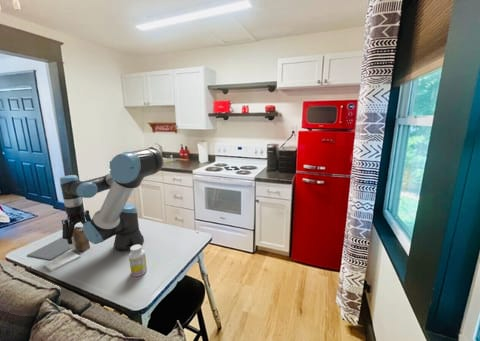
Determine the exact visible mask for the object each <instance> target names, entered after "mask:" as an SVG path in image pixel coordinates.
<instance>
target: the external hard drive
mask: <svg viewBox="0 0 480 341" xmlns="http://www.w3.org/2000/svg"><path fill="white" fill-rule="evenodd" d="M80 258H81V255H80V254H78V253H76V252H74V251H71V252H68V253H64V254H62V255H60V256H58V257H56V258H54V259H53V260H49V262H46V263H44V264H43V267H44V266H45V267H44V268H46V269H49V271H50V272H51V271H52V272H54V271H56V270H58V269H60V268H62V267H64V266H67V265H68V264H70V263H72V262H75V261H76V260H78V259H79V260H80Z"/></svg>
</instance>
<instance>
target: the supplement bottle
mask: <svg viewBox="0 0 480 341" xmlns="http://www.w3.org/2000/svg"><path fill="white" fill-rule="evenodd" d="M142 246H143V245H139V244H137V245H133V246H132V247H131V248H130V251H129V252H130V253H129V254H128V261H129V267H130V273H131V275H132V276H134V277H139V276H142V275H145V273H146V272H147V270H148V268H147V267H148V266H147V259H146V252H145V250H144V249H143V248H142Z"/></svg>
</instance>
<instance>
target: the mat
mask: <svg viewBox="0 0 480 341" xmlns="http://www.w3.org/2000/svg"><path fill="white" fill-rule="evenodd" d="M70 250H71V249H70V244H68V241H67V239H63V238H62V237H59V238H57V239H55V240H53V241H52V242H50V243H48V244H46V245H44V246H42V247H40V248H38V249H35V250H34V251H32V252H30V253H28V254H26V256H27V257H31V258H36V259H37V258H38V259H40V260H41V259H42V260H46V261H52V260H55V259H57V258H59V257H61V256H62V255H64V254H66V252H68V251H70Z"/></svg>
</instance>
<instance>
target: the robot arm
mask: <svg viewBox="0 0 480 341" xmlns="http://www.w3.org/2000/svg"><path fill="white" fill-rule="evenodd" d="M163 166H164V158H163V156H162V154H161V153H160V152H159V151H157V150H156V149H152V148H144V149H139V150H134V151H133V150H132V151H125V152H122V153H118V154H116V155H115V156H113V157H112V159H111V161H110V163H109V169H110V170H109V173H108V174H105V175H103V176H99V177H95V178H91V179H87V180H85V181H84V180H83V181H82V180H80V179H79V177H78V176H77V175H76V174H70V175H63V176H61V177H60V178H59V182H60V189H61V194H62V199H63V203H64V208H65V213H66V215H67V216H66V218H65V219H62V220H61V224H62V233H61V234H62V237H61V238H63V239H67V241H68V244H70V250H74V251H76V250H75V249H76V247H75V242H74V238H73V237H72V235H73V231H74V227H76V226H77V225H76V224H77V223H78V222H80V223H81V224H82V227H83V232H84V234H85V236H86V238H87V239H88V240H89V243H91V244H93V245H99V244H100V243H103V242H105V241H106V240H108V239H111V238H113V237H114V236H115V237H114V241H113V248H114V250H115V251H116V252H120V253H123V252H124V253H125V252H131V251H130V248H131V247H132V246H133V245H137V244H139V245H141V246H143V244H144V243H145V240H144V238H145V237H144V235H142V232H141V230H140V226H139V217H138V210H137V207H136V205H135V204H131V203H127V202H128V200H129V198H130V197H131V195H132V192H133V191H134V189H136V188H138V187H140V186H141V184H142V182H143V180H144V178H146V177H148V176H149V177H150V176H153V175H155V174H157V173H159V172H160V171H161V170H162V168H163ZM107 190H108V192H107V195H106V197H105V199H104V201H103V203H102V205H101V207H100V209H99V210H97V211H96V212H95V213H94V214H93V216H92V217H91V215H90V210H87V209H84V205H83V198H84V199H90V198H93V197H95V196H96V195H97V194H98V193H101V192H104V191H107Z"/></svg>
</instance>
